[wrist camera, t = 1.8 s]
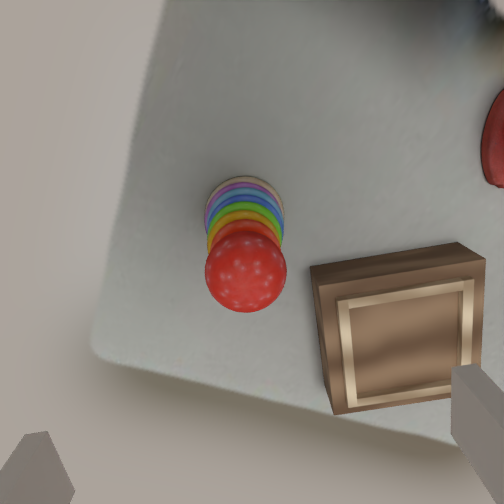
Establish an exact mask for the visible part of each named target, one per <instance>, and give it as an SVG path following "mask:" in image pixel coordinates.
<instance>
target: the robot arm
mask: <svg viewBox="0 0 504 504" xmlns="http://www.w3.org/2000/svg"><path fill="white" fill-rule="evenodd" d="M451 435H452V437H453V438H454V440H455V441H456V443H457V444H458V446H459V447H460V449H461V450H462V452H463V453H464V455H465V456H466V458H467V459H468V461H469V463H470V464H471V466H472V467H473V468H474V470H475V472H476V473H477V475H478V476H479V478H480V479H481V481H482V482H483V484H484V485H485V487H486V488H487V490H488V491H489V493H490V494H491V496H492V498H493V499H494V500H495V502H496V504H504V392H503V391H502V390H501V389H500V388H499V387H498V386H497V385H496V384H495V383H494V382H493V381H492V380H491V379H490V378H489V376H488V375H487V374H486V373H485V372H484V371H483V370H482V369H481V368H480V367H479V366H478V365H477V364H476V363H475V364H468V365H462V366H456V367H452V372H451ZM74 493H75V490H74V487H73V485H72V483H71V481H70V479H69V477H68V474H67V472H66V470H65V468H64V466H63V464H62V462H61V460H60V457H59V455H58V453H57V451H56V448H55V446H54V444H53V442H52V440H51V438H50V435H49V434H48V432H47V431H44V432H38V433H32V434H26V435H24V436H23V438H22V439H21V441H20V442H19V444H18V445H17V447H16V449H15V450H14V451H13V453H12V454H11V456H10V457H9V459H8V460H7V462H6V463H5V465H4V466H3V467H2V469H1V470H0V504H70V502H71V500H72V497H73V495H74Z"/></svg>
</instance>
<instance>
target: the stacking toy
mask: <svg viewBox="0 0 504 504" xmlns="http://www.w3.org/2000/svg"><path fill="white" fill-rule="evenodd" d="M204 222H205V229H206V233H207V240H208V242H207V248H208V254H209V255H208V257H207V260H206V265H205V279H206V283H207V286H208V288H209V291H210V292H211V294H212V296H213V297H214V298H215V299H216V300H217V301H218V302H219V303H220V304H221V305H223V306H224V307H226V308H228V309H230V310H233V311H236V312H244V313H248V312H255V311H258V310H261V309H263V308H265V307H267V306H269V305H270V304H271V303H272V302H274V301H275V300H276V298H277V297H278V296H279V294H280V293H281V291H282V289H283V287H284V284H285V281H286V273H287V269H286V263H285V259H284V257H283V254H282V252H281V249H280V247H281V243H282V239H283V230H284V209H283V204H282V201H281V199H280V197H279V195H278V194H277V192H276V191H275V190H274V189H273V188H272V187H271V186H270V185H269V184H267V183H266V182H264V181H262V180H260V179H257V178H254V177H236V178H232V179H229V180H227V181H225V182H223V183H222V184H221V185H219V186H218V187H217V188H216V189H215V190H214V191H213V193H212V194H211V195H210V197H209V199H208V201H207V204H206V208H205V220H204Z"/></svg>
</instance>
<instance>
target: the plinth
mask: <svg viewBox="0 0 504 504" xmlns="http://www.w3.org/2000/svg"><path fill="white" fill-rule="evenodd" d="M485 266H486V259H485V258H484V257H482V256H480V255H478V254H477V253H475V252H473V251H472V250H470V249H468V248H467V247H465V246H463V245H462V244H460V243H458V242H456V243H450V244H444V245H437V246H431V247H425V248H419V249H413V250H407V251H401V252H395V253H389V254H383V255H377V256H371V257H365V258H359V259H353V260H347V261H341V262H335V263H328V264H322V265H316V266H310V271H311V279H312V287H313V295H314V303H315V311H316V319H317V327H318V335H319V343H320V351H321V359H322V367H323V375H324V383H325V388H326V391H327V394H328V397H329V401H330V404H331V407H332V410H333V414H334V415H340V414H347V413H353V412H360V411H366V410H373V409H380V408H386V407H393V406H399V405H406V404H412V403H419V402H426V401H432V400H439V399H445V398H451V372H452V367H456V366H462V365H468V364H475V363H476V364H477V365H478V366H479V367H480V368H481V348H482V327H483V307H484V286H485Z"/></svg>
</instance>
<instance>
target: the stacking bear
mask: <svg viewBox="0 0 504 504" xmlns="http://www.w3.org/2000/svg"><path fill="white" fill-rule="evenodd" d="M482 164H483V169H484V173H485V176H486V179H487V181H488V182H489V183H490V184H491V185H496V186H497V187H498V188H504V90H503V91H502V92H501V93H500V94H499V96H498V97H497V99H496V100H495V102H494V104H493V106H492V108H491V110H490V113H489V115H488V118H487V121H486V125H485V128H484V133H483V139H482Z"/></svg>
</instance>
